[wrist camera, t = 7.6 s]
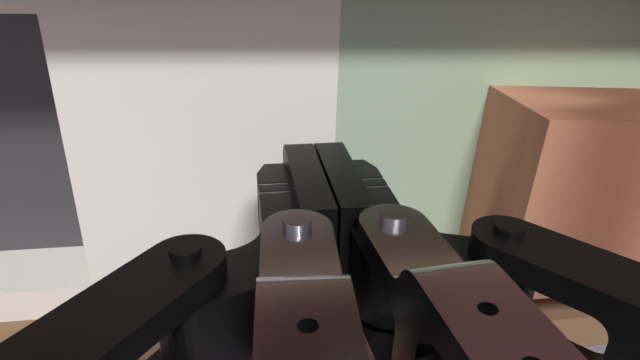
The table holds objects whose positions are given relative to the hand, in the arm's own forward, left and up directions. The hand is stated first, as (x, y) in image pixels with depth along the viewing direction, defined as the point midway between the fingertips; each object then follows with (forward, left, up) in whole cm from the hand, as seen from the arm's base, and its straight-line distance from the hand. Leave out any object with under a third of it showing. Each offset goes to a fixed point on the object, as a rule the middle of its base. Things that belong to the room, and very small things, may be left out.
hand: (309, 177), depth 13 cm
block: (-7, +1, -1) cm, 8 cm away
